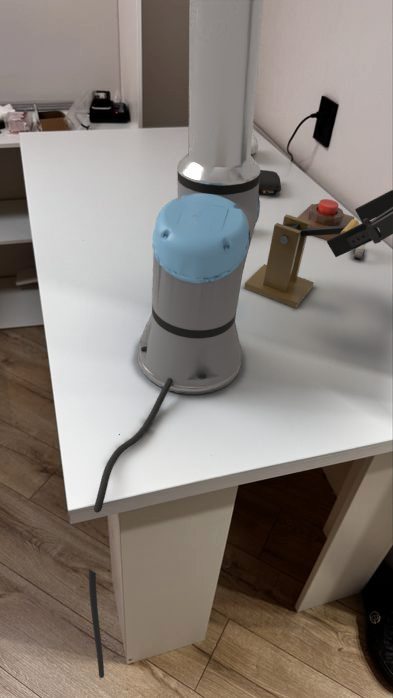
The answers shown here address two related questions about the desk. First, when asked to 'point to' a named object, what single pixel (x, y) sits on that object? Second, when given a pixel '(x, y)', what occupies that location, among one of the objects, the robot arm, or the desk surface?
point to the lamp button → (328, 207)
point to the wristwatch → (358, 251)
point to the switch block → (324, 219)
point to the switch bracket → (283, 266)
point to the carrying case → (269, 182)
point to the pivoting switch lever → (324, 229)
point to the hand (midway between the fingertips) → (346, 231)
